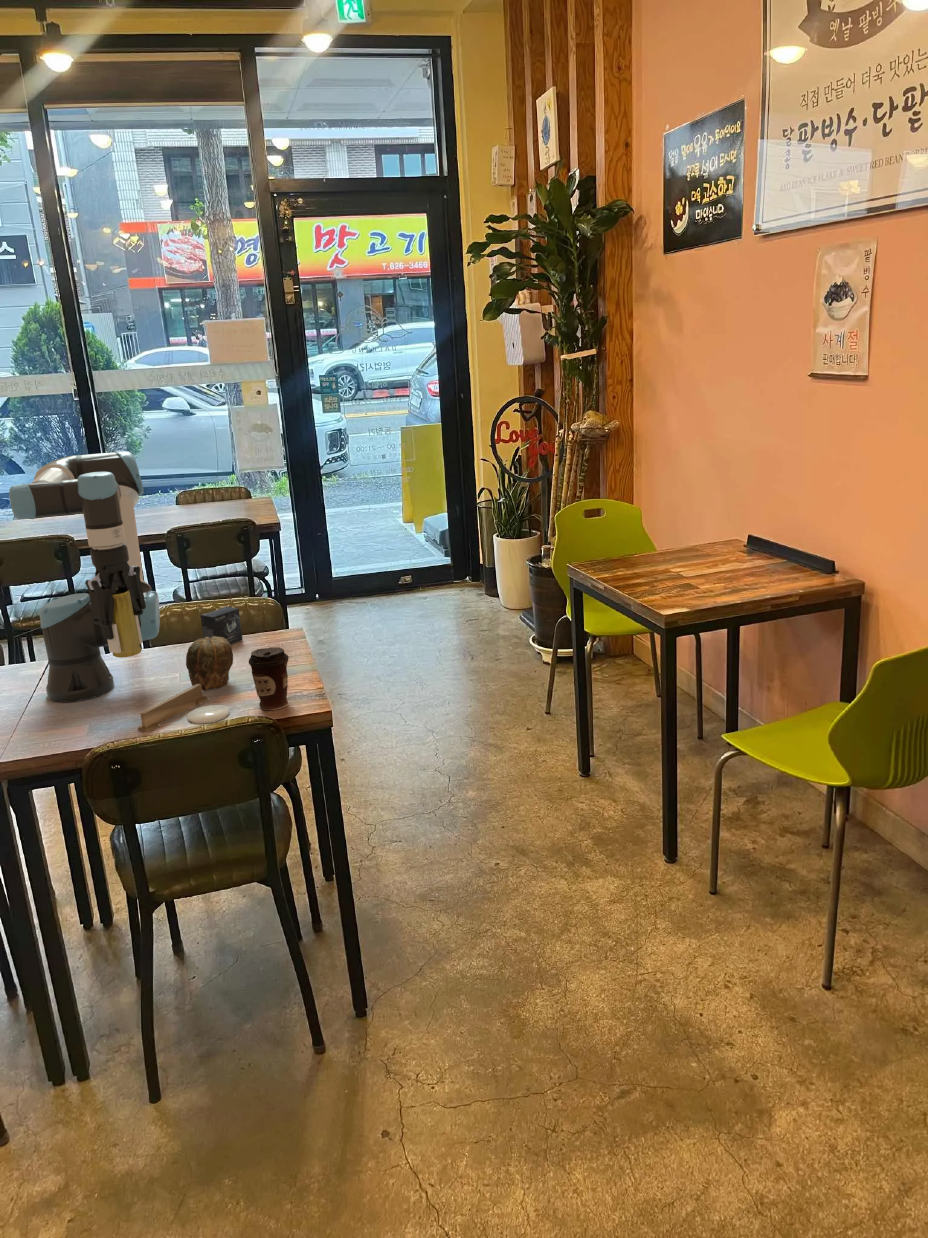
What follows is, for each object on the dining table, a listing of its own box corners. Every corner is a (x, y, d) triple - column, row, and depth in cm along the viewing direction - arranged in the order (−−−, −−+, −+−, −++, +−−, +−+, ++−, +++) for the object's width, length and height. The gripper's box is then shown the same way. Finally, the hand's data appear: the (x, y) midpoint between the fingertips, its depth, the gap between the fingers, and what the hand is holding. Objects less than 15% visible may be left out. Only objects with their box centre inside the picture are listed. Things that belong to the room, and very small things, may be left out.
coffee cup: (273, 716, 195) (266, 659, 192) (246, 709, 200) (238, 654, 196) (300, 702, 202) (294, 647, 198) (273, 696, 207) (266, 643, 203)
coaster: (178, 720, 196) (178, 718, 196) (206, 705, 204) (206, 703, 203) (211, 725, 192) (210, 723, 192) (238, 710, 200) (237, 707, 200)
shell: (224, 693, 210) (217, 645, 207) (182, 692, 213) (174, 645, 209) (244, 677, 220) (237, 630, 217) (203, 676, 223) (196, 630, 219)
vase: (113, 659, 195) (102, 597, 191) (112, 651, 201) (100, 590, 196) (142, 654, 198) (132, 592, 193) (140, 646, 203) (130, 586, 199)
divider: (138, 730, 192) (135, 713, 191) (198, 698, 208) (195, 682, 207) (148, 732, 191) (145, 715, 189) (208, 700, 207) (205, 683, 206)
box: (218, 650, 243) (213, 617, 240) (204, 647, 246) (199, 614, 243) (243, 640, 250) (239, 607, 247) (229, 638, 253) (225, 605, 250)
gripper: (86, 556, 182) (106, 663, 189) (152, 536, 198) (168, 635, 205) (60, 554, 185) (80, 659, 192) (127, 535, 201) (144, 632, 208)
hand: (126, 647), depth 199 cm, fingers closed on vase, 6 cm apart
